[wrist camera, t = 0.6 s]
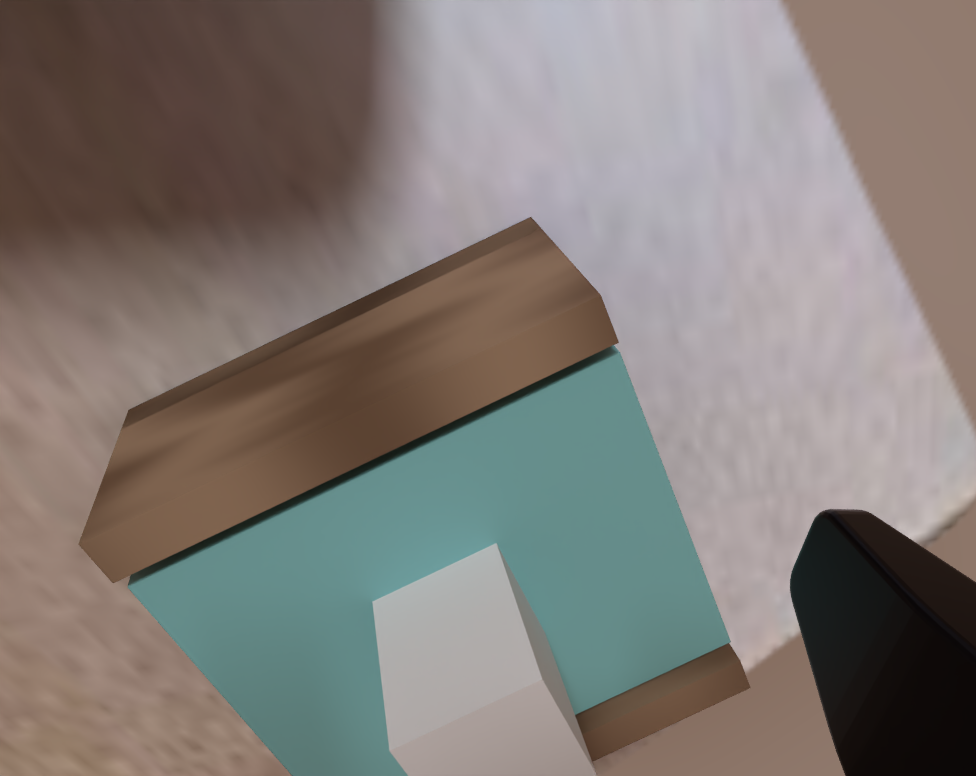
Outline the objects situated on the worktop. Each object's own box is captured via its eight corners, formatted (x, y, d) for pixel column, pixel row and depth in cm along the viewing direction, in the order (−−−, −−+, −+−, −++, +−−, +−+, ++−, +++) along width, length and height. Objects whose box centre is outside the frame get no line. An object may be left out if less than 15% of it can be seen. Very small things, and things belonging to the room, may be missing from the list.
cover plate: (334, 786, 23) (344, 994, 18) (137, 551, 18) (84, 747, 14) (710, 609, 22) (815, 776, 18) (601, 329, 18) (703, 455, 14)
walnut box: (352, 704, 27) (364, 868, 22) (128, 410, 21) (78, 544, 16) (668, 556, 27) (750, 687, 22) (530, 216, 21) (601, 295, 16)
